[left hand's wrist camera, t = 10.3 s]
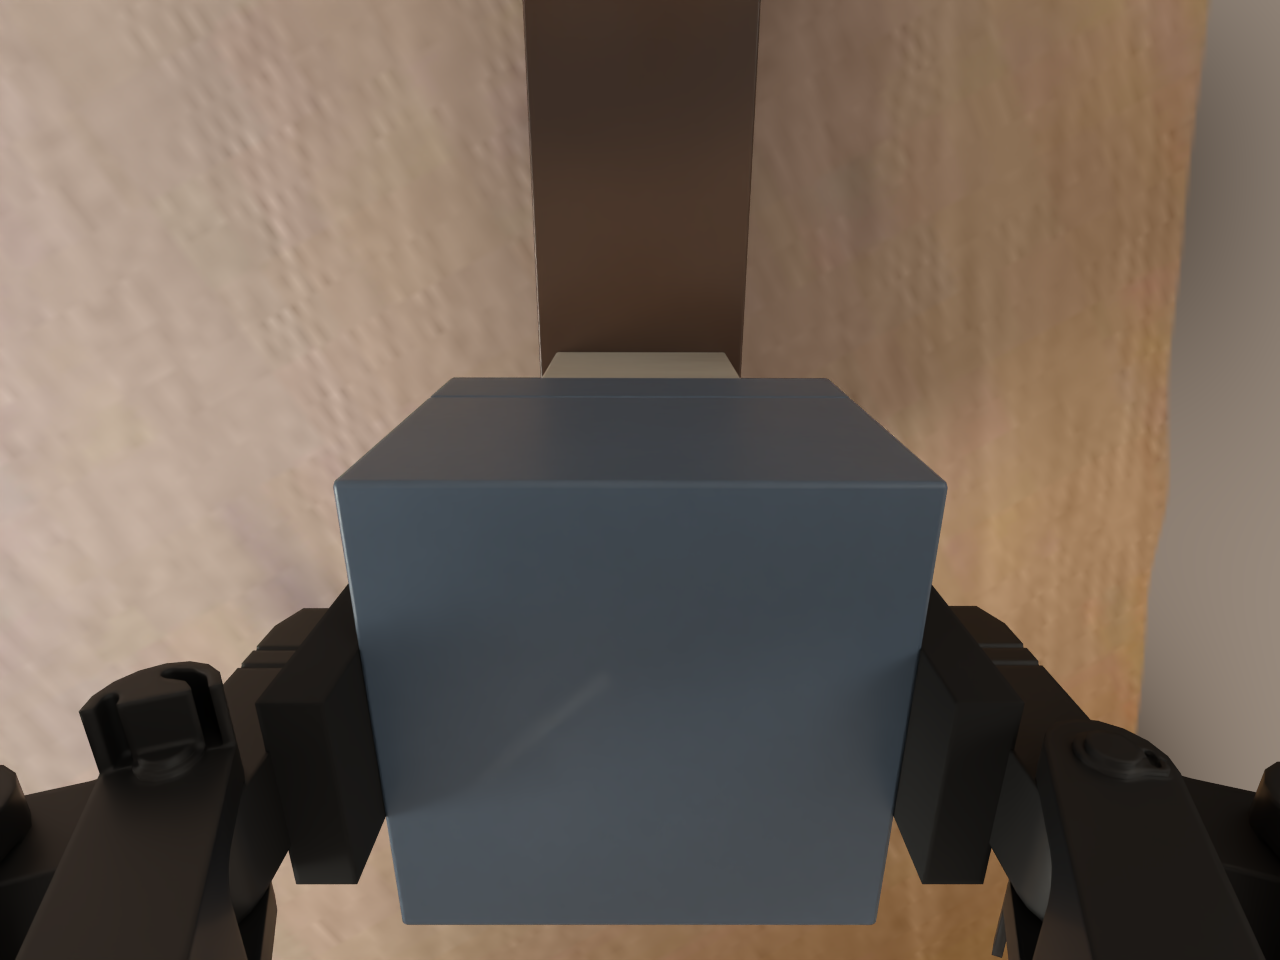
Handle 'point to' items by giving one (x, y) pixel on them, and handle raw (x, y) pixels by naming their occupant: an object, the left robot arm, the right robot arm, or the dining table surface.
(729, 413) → the slate blue cube
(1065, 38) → the dining table surface
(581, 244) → the stand
